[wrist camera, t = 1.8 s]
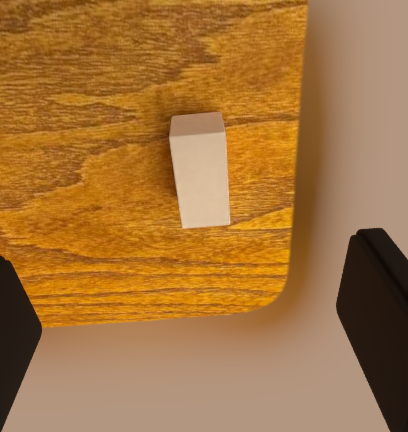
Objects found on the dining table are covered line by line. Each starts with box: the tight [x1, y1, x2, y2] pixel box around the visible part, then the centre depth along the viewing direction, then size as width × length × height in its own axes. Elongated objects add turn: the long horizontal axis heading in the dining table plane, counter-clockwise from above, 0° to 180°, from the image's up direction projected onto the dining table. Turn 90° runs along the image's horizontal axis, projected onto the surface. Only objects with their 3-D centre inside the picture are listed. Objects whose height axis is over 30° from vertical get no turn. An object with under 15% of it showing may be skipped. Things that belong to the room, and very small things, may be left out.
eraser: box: [169, 112, 230, 229], centre depth 21 cm, size 6×3×4 cm, turn 5°
